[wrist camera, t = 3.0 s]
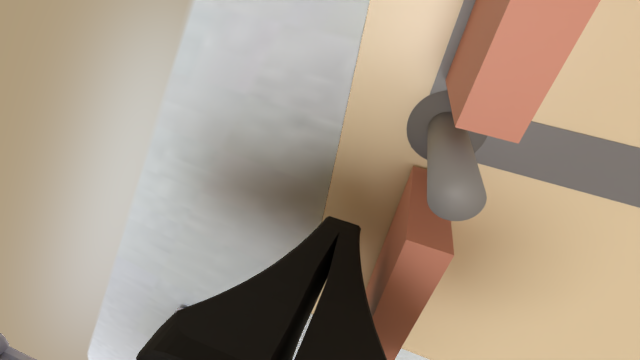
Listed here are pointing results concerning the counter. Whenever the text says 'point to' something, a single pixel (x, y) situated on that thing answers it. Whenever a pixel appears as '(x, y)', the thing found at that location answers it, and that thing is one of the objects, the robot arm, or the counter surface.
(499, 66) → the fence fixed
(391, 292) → the fence gate
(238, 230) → the counter surface
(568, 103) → the card
